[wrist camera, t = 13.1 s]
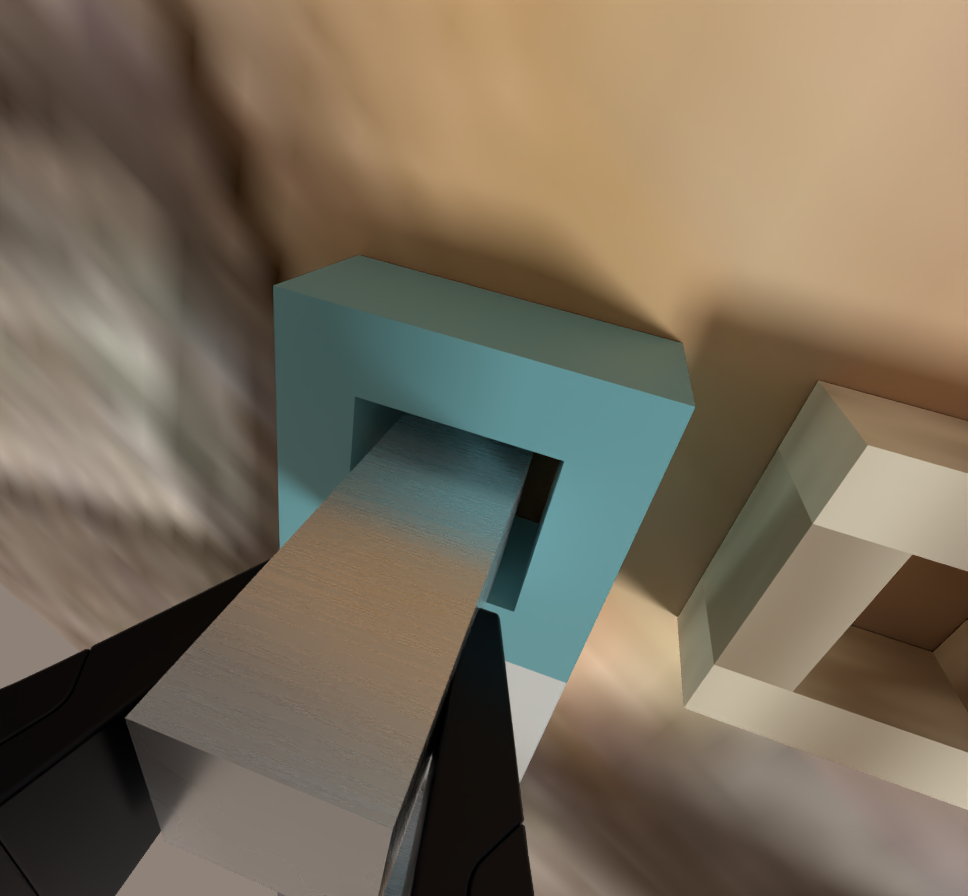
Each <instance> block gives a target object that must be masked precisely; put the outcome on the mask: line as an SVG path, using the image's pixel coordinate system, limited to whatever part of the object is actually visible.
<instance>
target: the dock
mask: <svg viewBox="0 0 968 896" xmlns="http://www.w3.org/2000/svg"><path fill="white" fill-rule="evenodd" d="M273 299H274V339H275V379H276V419H277V459H278V499H279V539H280V548H281V547H282V546H283V545H284V544H285V543H286V542H287V541H288V540H289V539H290V538H291V536H292V535H293V534H294V533H295V532H296V531H297V530H298V529H299V528H300V527H301V526H302V524H303V523H304V522H305V521H306V520H307V519H308V518H309V517H310V516H311V515H312V514H313V513H314V511H315V510H316V509H317V508H318V507H319V506H320V505H321V504H322V503H323V502H324V501H325V499H326V498H327V497H328V496H329V495H330V494H331V493H332V492H333V491H334V490H335V489H336V487H337V486H338V485H339V484H340V483H341V482H342V481H343V480H344V479H345V478H346V477H347V475H348V474H349V473H350V472H351V471H352V470H353V469H354V468H355V467H356V466H357V465H358V464H359V462H360V461H361V460H362V459H363V458H364V457H365V456H366V455H367V454H368V453H369V452H370V450H371V449H372V448H373V447H374V446H375V445H376V444H377V443H378V442H379V441H380V440H381V438H382V437H383V436H384V435H385V434H386V433H387V432H388V431H389V430H390V429H391V428H392V426H393V425H394V424H395V423H396V422H397V421H398V420H399V419H400V418H401V417H402V416H403V415H404V413H405V412H407V413H410V414H413V415H416V416H420V417H423V418H426V419H429V420H433V421H436V422H439V423H442V424H446V425H449V426H452V427H455V428H458V429H462V430H465V431H468V432H471V433H475V434H478V435H481V436H484V437H488V438H491V439H494V440H497V441H500V442H504V443H507V444H510V445H513V446H517V447H520V448H523V449H526V450H530V451H533V452H536V453H539V454H542V455H546V456H549V457H552V458H555V459H559V460H560V461H559V464H558V467H557V470H556V473H555V476H554V479H553V482H552V485H551V488H550V491H549V494H548V497H547V500H546V504H545V507H544V510H543V513H542V516H541V519H540V522H539V523H536V522H533V521H530V520H527V519H524V518H521V517H517V516H515V518H514V522H513V525H512V529H511V532H510V536H509V539H508V542H507V545H506V548H505V550H504V553H503V556H502V559H501V562H500V565H499V568H498V570H497V573H496V576H495V579H494V582H493V585H492V587H491V590H490V593H489V596H488V599H487V602H486V605H485V607H484V609H486V610H488V611H491V612H494V613H497V614H498V615H499V617H500V622H501V630H502V639H503V647H504V656H505V664H506V673H507V681H508V689H509V698H510V706H511V715H512V723H513V732H514V740H515V749H516V757H517V765H518V774H519V782H521V780H522V777H523V775H524V773H525V771H526V769H527V767H528V765H529V762H530V760H531V758H532V756H533V754H534V752H535V750H536V747H537V745H538V743H539V741H540V739H541V737H542V735H543V732H544V730H545V728H546V726H547V724H548V722H549V720H550V718H551V715H552V713H553V711H554V709H555V707H556V705H557V703H558V700H559V698H560V696H561V694H562V692H563V690H564V688H565V685H566V683H567V681H568V679H569V677H570V675H571V673H572V670H573V668H574V666H575V664H576V662H577V660H578V658H579V655H580V653H581V651H582V649H583V647H584V645H585V643H586V640H587V638H588V636H589V634H590V632H591V630H592V628H593V625H594V623H595V621H596V619H597V617H598V615H599V613H600V610H601V608H602V606H603V604H604V602H605V600H606V598H607V595H608V593H609V591H610V589H611V587H612V585H613V583H614V580H615V578H616V576H617V574H618V572H619V570H620V568H621V565H622V563H623V561H624V559H625V557H626V555H627V553H628V550H629V548H630V546H631V544H632V542H633V540H634V538H635V535H636V533H637V531H638V529H639V527H640V525H641V523H642V520H643V518H644V516H645V514H646V512H647V510H648V508H649V505H650V503H651V501H652V499H653V497H654V495H655V493H656V490H657V488H658V486H659V484H660V482H661V480H662V478H663V475H664V473H665V471H666V469H667V467H668V465H669V463H670V460H671V458H672V456H673V454H674V452H675V450H676V448H677V445H678V443H679V441H680V439H681V437H682V435H683V433H684V430H685V428H686V426H687V424H688V422H689V420H690V418H691V415H692V413H693V411H694V409H695V402H694V397H693V392H692V387H691V382H690V377H689V373H688V368H687V363H686V358H685V353H684V348H683V343H680V342H676V341H672V340H669V339H665V338H661V337H658V336H654V335H650V334H647V333H643V332H639V331H636V330H632V329H628V328H625V327H621V326H617V325H614V324H610V323H606V322H603V321H599V320H595V319H592V318H588V317H584V316H581V315H577V314H573V313H570V312H566V311H562V310H559V309H555V308H551V307H548V306H544V305H540V304H537V303H533V302H529V301H526V300H522V299H518V298H515V297H511V296H507V295H504V294H500V293H497V292H493V291H489V290H486V289H482V288H478V287H475V286H471V285H467V284H464V283H460V282H456V281H453V280H449V279H445V278H442V277H438V276H434V275H431V274H427V273H423V272H420V271H416V270H412V269H409V268H405V267H401V266H398V265H394V264H390V263H387V262H383V261H379V260H376V259H372V258H368V257H365V256H361V255H357V256H354V257H351V258H348V259H346V260H343V261H340V262H337V263H334V264H332V265H329V266H326V267H323V268H321V269H318V270H315V271H312V272H309V273H307V274H304V275H301V276H298V277H296V278H293V279H290V280H287V281H285V282H282V283H279V284H276V285H273ZM430 762H431V761H430ZM429 767H430V764H429ZM429 767H428V770H427V772H426V775H425V778H424V781H423V784H422V787H421V789H423V790H424V789H425V785H426V780H427V776H428V771H429Z"/></svg>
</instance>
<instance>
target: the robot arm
mask: <svg viewBox="0 0 968 896" xmlns="http://www.w3.org/2000/svg"><path fill="white" fill-rule="evenodd" d="M269 560H270V559H269ZM269 560H267V561H265V562H263V563H261V564H259V565H257V566H255V567H253V568H251V569H249V570H247V571H245V572H242V573H240V574H238V575H236V576H234V577H232V578H230V579H228V580H226V581H224V582H222V583H220V584H218V585H216V586H214V587H212V588H210V589H208V590H206V591H204V592H202V593H200V594H198V595H196V596H193V597H191V598H189V599H187V600H185V601H183V602H181V603H179V604H177V605H175V606H173V607H171V608H169V609H167V610H165V611H163V612H161V613H159V614H157V615H155V616H153V617H151V618H149V619H146V620H144V621H142V622H140V623H138V624H136V625H134V626H132V627H130V628H128V629H126V630H124V631H122V632H120V633H118V634H116V635H114V636H112V637H110V638H108V639H106V640H104V641H102V642H99V643H97V644H95V645H93V646H92V647H91V649H90V650H89V649H85V650H83V651H81V652H79V653H77V654H75V655H73V656H70V657H69V658H66V659H64V660H62V661H60V662H58V663H56V664H54V665H52V666H50V667H48V668H45V669H43V670H41V671H39V672H37V673H35V674H33V675H30V676H28V677H26V678H24V679H22V680H20V681H18V682H15V683H13V684H11V685H8V686H6V687H4V688H1V689H0V896H115V895H116V894H117V892H118V891H119V889H120V888H121V887H122V885H123V884H124V882H125V881H126V880H127V878H128V877H129V875H130V874H131V873H132V871H133V870H134V868H135V867H136V866H137V864H138V863H139V861H140V860H141V859H142V857H143V856H144V854H145V853H146V852H147V850H148V849H149V847H150V845H151V844H152V843H153V842H154V840H155V839H156V837H157V836H158V834H159V833H160V831H161V829H160V826H159V823H158V820H157V816H156V813H155V810H154V807H153V804H152V801H151V798H150V795H149V791H148V788H147V785H146V782H145V779H144V776H143V773H142V770H141V767H140V763H139V760H138V757H137V754H136V751H135V748H134V745H133V742H132V739H131V735H130V732H129V729H128V726H127V723H126V720H125V717H126V716H127V715H128V714H129V713H130V712H131V711H132V710H133V708H134V707H135V706H136V705H137V704H138V703H139V702H140V701H141V700H142V699H143V698H144V697H145V695H146V694H147V693H148V692H149V691H150V690H151V689H152V688H153V687H154V686H155V685H156V683H157V682H158V681H159V680H160V679H161V678H162V677H163V676H164V675H165V674H166V673H167V671H168V670H169V669H170V668H171V667H172V666H173V665H174V664H175V663H176V662H177V661H178V659H179V658H180V657H181V656H182V655H183V654H184V653H185V652H186V651H187V650H188V649H189V648H190V646H191V645H192V644H193V643H194V642H195V641H196V640H197V639H198V638H199V637H200V636H201V634H202V633H203V632H204V631H205V630H206V629H207V628H208V627H209V626H210V625H211V624H212V622H213V621H214V620H215V619H216V618H217V617H218V616H219V615H220V614H221V613H222V612H223V610H224V609H225V608H226V607H227V606H228V605H229V604H230V603H231V602H232V601H233V600H234V599H235V597H236V596H237V595H238V594H239V593H240V592H241V591H242V590H243V589H244V588H245V587H246V585H247V584H248V583H249V582H250V581H251V580H252V579H253V578H254V577H255V576H256V575H257V573H258V572H259V571H260V570H261V569H262V568H263V567H264V566H265V565H266V564H267V563H268V561H269ZM523 821H524V816H523V808H522V799H521V791H520V782H519V774H518V765H517V757H516V749H515V740H514V732H513V723H512V715H511V706H510V698H509V689H508V681H507V673H506V664H505V656H504V647H503V639H502V630H501V622H500V617H499V615H498V614H497V613H494V612H491V611H488V610H486V609H483V608H479V610H478V612H477V615H476V617H475V620H474V623H473V625H472V628H471V631H470V633H469V636H468V638H467V641H466V644H465V646H464V649H463V652H462V654H461V657H460V659H459V662H458V665H457V667H456V670H455V673H454V676H453V678H452V681H451V685H450V688H449V692H448V696H447V700H446V704H445V707H444V711H443V715H442V719H441V722H440V726H439V730H438V734H437V738H436V741H435V745H434V749H433V753H432V757H431V762H430V767H429V771H428V776H427V780H426V785H425V789H424V794H423V799H422V803H421V808H420V812H419V817H418V821H417V826H416V831H415V835H414V840H413V844H412V849H411V853H410V858H409V863H408V867H407V872H406V876H405V881H404V885H403V890H402V895H401V896H534V890H533V883H532V876H531V869H530V863H529V856H528V847H527V839H526V831H525V826H524V825H523V824H522V823H523Z"/></svg>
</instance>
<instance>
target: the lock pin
mask: <svg viewBox="0 0 968 896" xmlns="http://www.w3.org/2000/svg"><path fill="white" fill-rule="evenodd" d="M533 453H534V452H533V451H530V450H526V449H523V448H520V447H517V446H513V445H510V444H507V443H504V442H500V441H497V440H494V439H491V438H488V437H484V436H481V435H478V434H475V433H471V432H468V431H465V430H462V429H458V428H455V427H452V426H449V425H446V424H442V423H439V422H436V421H433V420H429V419H426V418H423V417H420V416H416V415H413V414H410V413H407V412H405V413H404V415H403V416H402V417H401V418H400V419H399V420H398V421H397V422H396V423H395V424H394V425H393V426H392V428H391V429H390V430H389V431H388V432H387V433H386V434H385V435H384V436H383V437H382V438H381V440H380V441H379V442H378V443H377V444H376V445H375V446H374V447H373V448H372V449H371V450H370V452H369V453H368V454H367V455H366V456H365V457H364V458H363V459H362V460H361V461H360V462H359V464H358V465H357V466H356V467H355V468H354V469H353V470H352V471H351V472H350V473H349V474H348V475H347V477H346V478H345V479H344V480H343V481H342V482H341V483H340V484H339V485H338V486H337V487H336V489H335V490H334V491H333V492H332V493H331V494H330V495H329V496H328V497H327V498H326V499H325V501H324V502H323V503H322V504H321V505H320V506H319V507H318V508H317V509H316V510H315V511H314V513H313V514H312V515H311V516H310V517H309V518H308V519H307V520H306V521H305V522H304V523H303V524H302V526H301V527H300V528H299V529H298V530H297V531H296V532H295V533H294V534H293V535H292V536H291V538H290V539H289V540H288V541H287V542H286V543H285V544H284V545H283V546H282V547H281V548H280V550H279V551H278V552H277V553H276V554H275V555H274V556H273V557H272V558H271V559H270V560H269V561H268V563H267V564H266V565H265V566H264V567H263V568H262V569H261V570H260V571H259V572H258V573H257V575H256V576H255V577H254V578H253V579H252V580H251V581H250V582H249V583H248V584H247V585H246V587H245V588H244V589H243V590H242V591H241V592H240V593H239V594H238V595H237V596H236V597H235V599H234V600H233V601H232V602H231V603H230V604H229V605H228V606H227V607H226V608H225V609H224V610H223V612H222V613H221V614H220V615H219V616H218V617H217V618H216V619H215V620H214V621H213V622H212V624H211V625H210V626H209V627H208V628H207V629H206V630H205V631H204V632H203V633H202V634H201V636H200V637H199V638H198V639H197V640H196V641H195V642H194V643H193V644H192V645H191V646H190V648H189V649H188V650H187V651H186V652H185V653H184V654H183V655H182V656H181V657H180V658H179V659H178V661H177V662H176V663H175V664H174V665H173V666H172V667H171V668H170V669H169V670H168V671H167V673H166V674H165V675H164V676H163V677H162V678H161V679H160V680H159V681H158V682H157V683H156V685H155V686H154V687H153V688H152V689H151V690H150V691H149V692H148V693H147V694H146V695H145V697H144V698H143V699H142V700H141V701H140V702H139V703H138V704H137V705H136V706H135V707H134V708H133V710H132V711H131V712H130V713H129V714H128V715H127V716H126V717H125V720H126V723H127V726H128V729H129V732H130V735H131V739H132V742H133V745H134V748H135V751H136V754H137V757H138V760H139V763H140V767H141V770H142V773H143V776H144V779H145V782H146V785H147V788H148V791H149V795H150V798H151V801H152V804H153V807H154V810H155V813H156V816H157V820H158V823H159V826H160V829H161V832H162V835H163V838H164V841H165V842H168V843H170V844H172V845H174V846H176V847H179V848H181V849H183V850H185V851H188V852H190V853H192V854H194V855H197V856H199V857H201V858H203V859H205V860H208V861H210V862H212V863H214V864H217V865H219V866H221V867H223V868H225V869H228V870H230V871H232V872H234V873H237V874H239V875H241V876H244V877H246V878H248V879H250V880H252V881H255V882H257V883H259V884H261V885H264V886H266V887H268V888H270V889H273V890H275V891H277V892H279V893H281V894H284V895H286V896H383V895H384V892H385V889H386V886H387V883H388V880H389V878H390V875H391V872H392V869H393V866H394V863H395V861H396V858H397V855H398V852H399V849H400V846H401V843H402V841H403V838H404V835H405V832H406V829H407V826H408V824H409V821H410V818H411V815H412V812H413V809H414V807H415V804H416V801H417V798H418V795H419V792H420V789H421V787H422V784H423V781H424V778H425V775H426V772H427V770H428V767H429V764H430V761H431V757H432V753H433V749H434V745H435V741H436V738H437V734H438V730H439V726H440V722H441V719H442V715H443V711H444V707H445V704H446V700H447V696H448V692H449V688H450V685H451V681H452V678H453V676H454V673H455V670H456V667H457V665H458V662H459V659H460V657H461V654H462V652H463V649H464V646H465V644H466V641H467V638H468V636H469V633H470V631H471V628H472V625H473V623H474V620H475V617H476V615H477V612H478V610H479V608H483V609H484V607H485V605H486V602H487V599H488V596H489V593H490V590H491V587H492V585H493V582H494V579H495V576H496V573H497V570H498V568H499V565H500V562H501V559H502V556H503V553H504V550H505V548H506V545H507V542H508V539H509V536H510V532H511V529H512V525H513V522H514V518H515V515H516V512H517V508H518V505H519V501H520V498H521V494H522V491H523V488H524V484H525V481H526V477H527V474H528V470H529V467H530V464H531V460H532V457H533Z"/></svg>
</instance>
